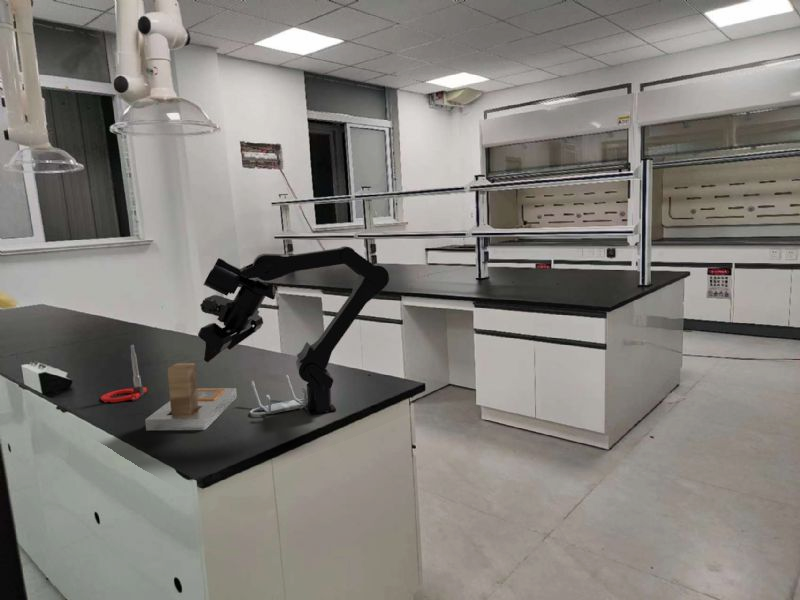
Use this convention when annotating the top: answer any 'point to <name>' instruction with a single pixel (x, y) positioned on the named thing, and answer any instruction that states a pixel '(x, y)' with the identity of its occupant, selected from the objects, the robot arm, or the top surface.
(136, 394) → the tow hook
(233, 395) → the grey peg hole board
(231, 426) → the top surface
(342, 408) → the top surface
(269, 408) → the wall mount rack
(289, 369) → the top surface
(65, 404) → the top surface
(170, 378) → the peg
